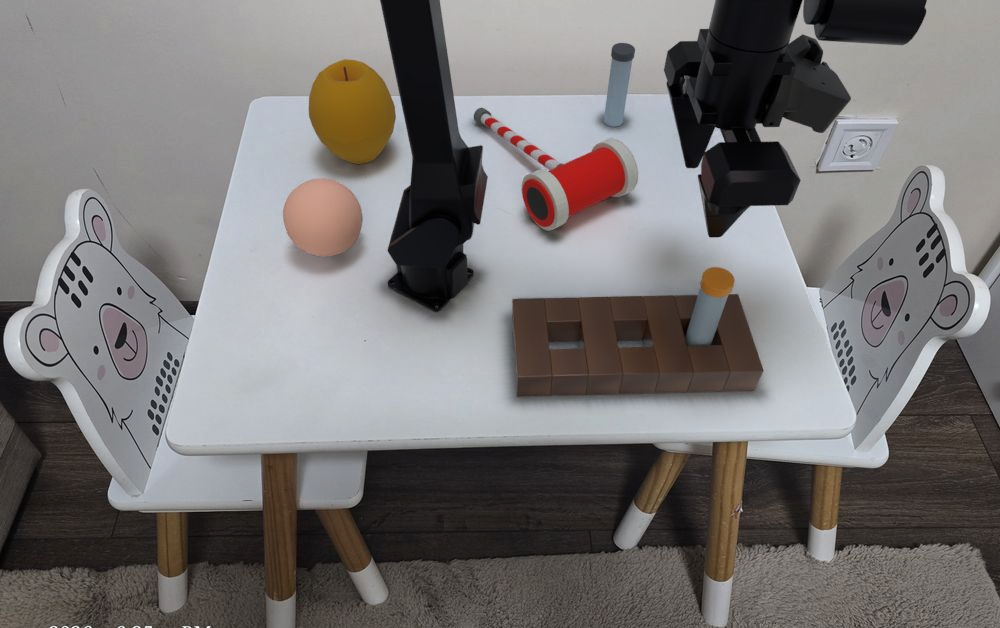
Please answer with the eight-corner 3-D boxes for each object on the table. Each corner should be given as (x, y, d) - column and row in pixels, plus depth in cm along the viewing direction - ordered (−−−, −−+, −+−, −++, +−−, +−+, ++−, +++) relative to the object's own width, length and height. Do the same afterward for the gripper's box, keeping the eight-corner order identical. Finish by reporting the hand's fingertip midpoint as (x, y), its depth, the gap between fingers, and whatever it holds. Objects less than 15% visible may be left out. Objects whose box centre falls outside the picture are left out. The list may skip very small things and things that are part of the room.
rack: (516, 396, 68) (517, 376, 65) (511, 319, 74) (512, 298, 71) (755, 390, 68) (764, 370, 66) (730, 314, 74) (738, 293, 72)
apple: (321, 131, 94) (303, 43, 85) (400, 128, 94) (390, 40, 85) (315, 181, 87) (295, 91, 78) (399, 177, 88) (389, 88, 79)
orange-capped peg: (688, 366, 70) (712, 293, 63) (674, 344, 72) (696, 271, 64) (714, 358, 71) (741, 285, 63) (699, 337, 72) (724, 263, 65)
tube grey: (598, 122, 95) (607, 49, 88) (608, 112, 97) (618, 40, 89) (617, 130, 94) (628, 56, 87) (627, 119, 96) (639, 46, 88)
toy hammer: (439, 137, 93) (436, 92, 88) (516, 106, 98) (517, 61, 93) (553, 242, 81) (557, 196, 76) (635, 202, 85) (644, 156, 81)
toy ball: (341, 211, 84) (330, 153, 78) (381, 248, 80) (373, 190, 74) (278, 243, 80) (260, 185, 74) (316, 284, 76) (301, 226, 71)
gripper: (911, 104, 48) (828, 275, 60) (818, -28, 61) (764, 135, 72) (739, 107, 48) (689, 277, 60) (680, -27, 60) (648, 136, 72)
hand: (702, 200), depth 66 cm, fingers open, 9 cm apart
